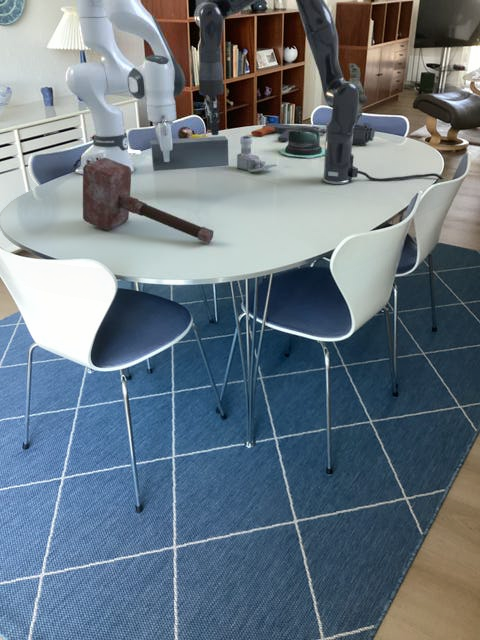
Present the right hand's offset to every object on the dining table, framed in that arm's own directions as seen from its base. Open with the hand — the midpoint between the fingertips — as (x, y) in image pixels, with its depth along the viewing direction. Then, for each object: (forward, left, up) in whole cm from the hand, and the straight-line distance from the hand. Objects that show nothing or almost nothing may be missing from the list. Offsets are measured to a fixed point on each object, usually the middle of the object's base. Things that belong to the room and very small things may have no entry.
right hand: (212, 132), depth 178 cm
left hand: (+16, -2, -7) cm, 17 cm away
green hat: (-50, -43, -21) cm, 69 cm away
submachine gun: (-55, -74, -21) cm, 94 cm away
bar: (+8, -1, -10) cm, 13 cm away
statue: (-89, -72, -21) cm, 116 cm away
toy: (-77, -48, -21) cm, 93 cm away
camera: (-22, -24, -21) cm, 38 cm away
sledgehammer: (+27, +28, -21) cm, 44 cm away
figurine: (-12, -74, -21) cm, 77 cm away
